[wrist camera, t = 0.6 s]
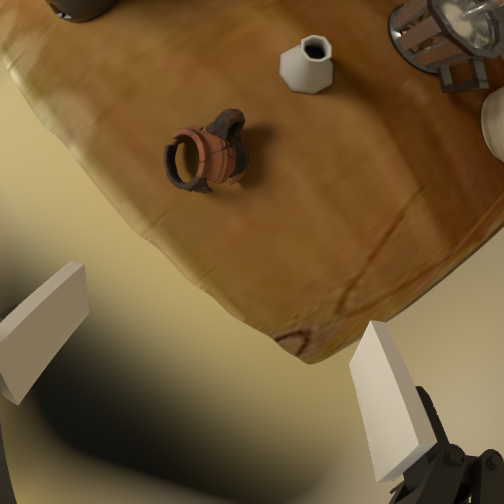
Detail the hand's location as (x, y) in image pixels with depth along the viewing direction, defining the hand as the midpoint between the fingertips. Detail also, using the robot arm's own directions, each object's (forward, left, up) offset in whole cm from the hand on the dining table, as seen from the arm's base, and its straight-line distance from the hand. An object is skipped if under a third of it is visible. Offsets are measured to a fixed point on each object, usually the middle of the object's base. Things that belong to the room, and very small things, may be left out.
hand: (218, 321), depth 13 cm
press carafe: (-18, +29, -29) cm, 45 cm away
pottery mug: (-7, -4, -30) cm, 31 cm away
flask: (-15, +10, -29) cm, 35 cm away
